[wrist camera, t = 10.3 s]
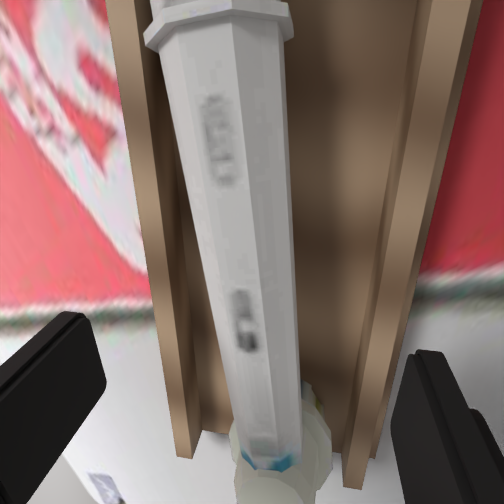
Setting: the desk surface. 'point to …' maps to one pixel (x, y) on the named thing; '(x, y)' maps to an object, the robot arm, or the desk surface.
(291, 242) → the toothbrush head
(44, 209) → the desk surface
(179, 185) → the fitting board
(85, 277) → the desk surface
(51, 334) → the robot arm
